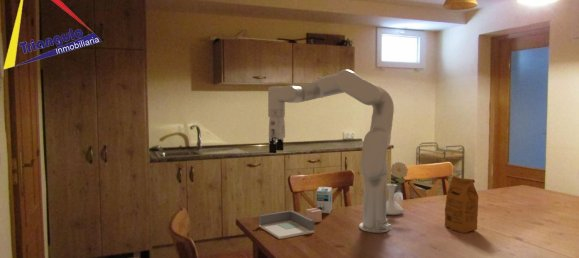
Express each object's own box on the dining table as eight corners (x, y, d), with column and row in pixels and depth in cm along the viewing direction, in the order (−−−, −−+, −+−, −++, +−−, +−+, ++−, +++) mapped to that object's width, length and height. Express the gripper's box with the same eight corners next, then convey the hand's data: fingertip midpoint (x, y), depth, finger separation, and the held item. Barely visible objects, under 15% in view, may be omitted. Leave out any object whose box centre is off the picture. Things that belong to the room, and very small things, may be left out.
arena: (314, 232, 164) (314, 220, 164) (279, 239, 156) (279, 226, 156) (291, 221, 180) (291, 210, 179) (259, 226, 172) (259, 215, 171)
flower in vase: (377, 215, 189) (377, 162, 188) (381, 209, 200) (381, 159, 198) (405, 218, 184) (406, 164, 183) (408, 212, 195) (409, 160, 193)
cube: (321, 221, 180) (321, 210, 179) (312, 223, 177) (312, 211, 177) (315, 218, 184) (315, 207, 184) (306, 220, 182) (306, 209, 181)
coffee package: (459, 223, 177) (460, 173, 175) (481, 232, 165) (482, 178, 163) (440, 225, 173) (441, 175, 172) (461, 234, 162) (462, 180, 160)
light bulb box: (330, 213, 192) (330, 191, 191) (316, 213, 193) (316, 190, 193) (332, 208, 202) (332, 186, 202) (318, 207, 204) (319, 186, 203)
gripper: (278, 114, 172) (278, 154, 174) (290, 113, 189) (290, 149, 190) (261, 114, 175) (261, 153, 176) (275, 113, 191) (274, 149, 192)
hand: (276, 151), depth 183 cm, fingers open, 9 cm apart
